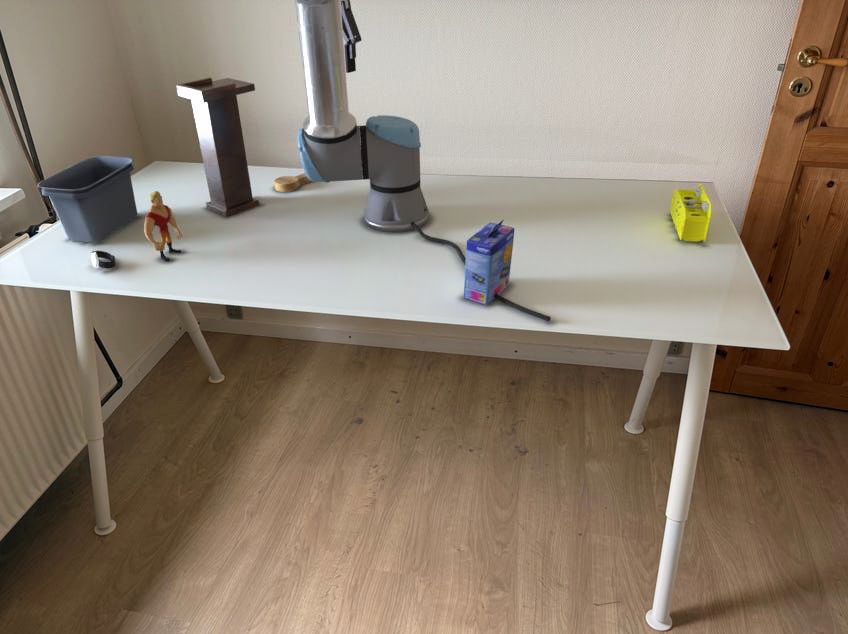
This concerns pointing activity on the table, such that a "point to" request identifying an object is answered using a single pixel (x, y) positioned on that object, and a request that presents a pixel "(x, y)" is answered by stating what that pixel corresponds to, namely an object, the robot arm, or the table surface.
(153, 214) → the action figure
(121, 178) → the storage bin
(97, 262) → the watch
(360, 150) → the robot arm
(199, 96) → the pedestal lectern
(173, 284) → the table surface
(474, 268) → the ink cartridge box
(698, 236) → the yellow toy chassis
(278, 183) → the wooden spoon
